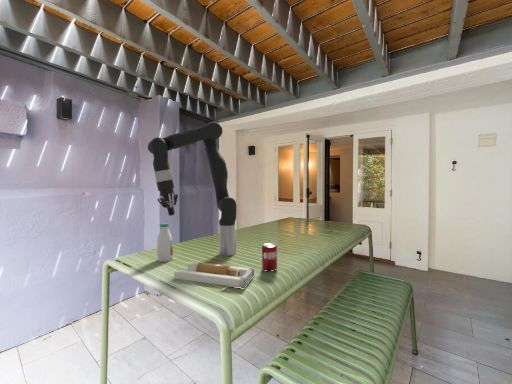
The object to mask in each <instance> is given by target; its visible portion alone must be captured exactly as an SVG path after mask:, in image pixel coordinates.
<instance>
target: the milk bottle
mask: <svg viewBox="0 0 512 384" xmlns="http://www.w3.org/2000/svg"><path fill="white" fill-rule="evenodd" d="M159 228H160V230H159V233H158V235H157V241H156V243H157V250H156V251H157V261H158V262H159V263H166V262H167V261H168V262H170V261H172V260H173V257H174V254H173V253H174V250H173V249H174V248H173V247H174V246H173V237H172V236H173V235H172V234H171V231H170V229H169V228H170V223H168V222H162V223H160V224H159ZM168 262H167V263H168Z"/></svg>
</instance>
